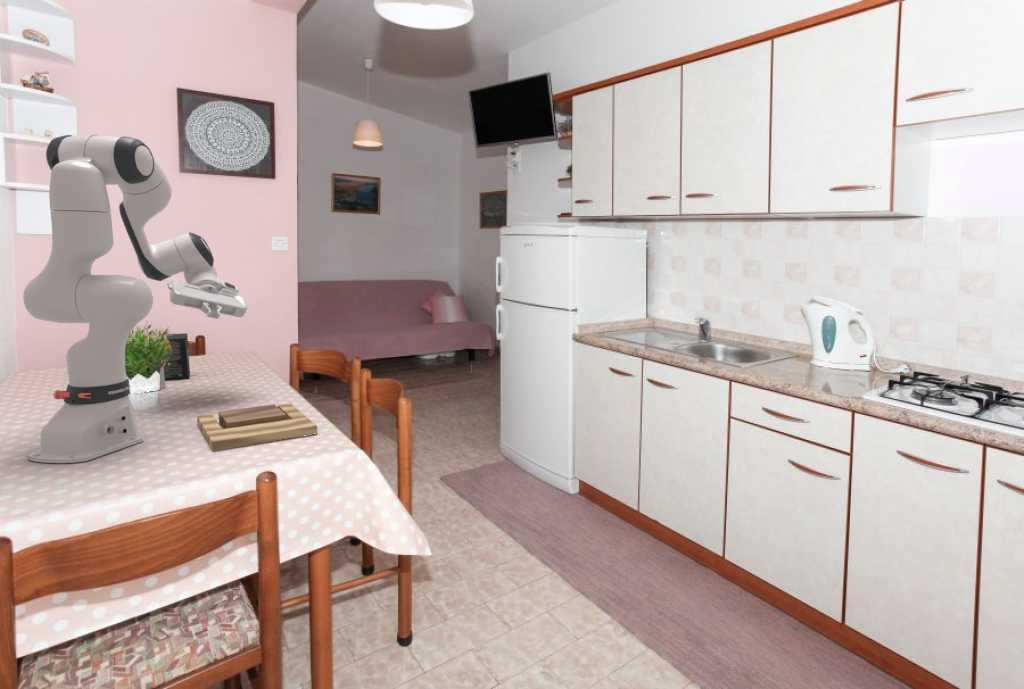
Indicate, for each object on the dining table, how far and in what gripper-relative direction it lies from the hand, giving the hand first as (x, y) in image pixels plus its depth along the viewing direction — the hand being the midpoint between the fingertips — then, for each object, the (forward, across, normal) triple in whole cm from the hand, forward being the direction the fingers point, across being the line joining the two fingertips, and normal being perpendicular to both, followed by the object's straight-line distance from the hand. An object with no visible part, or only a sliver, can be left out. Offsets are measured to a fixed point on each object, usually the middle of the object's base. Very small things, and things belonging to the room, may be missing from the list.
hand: (213, 316), depth 170 cm
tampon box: (-31, +9, +47) cm, 57 cm away
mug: (-18, -3, +43) cm, 47 cm away
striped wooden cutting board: (+37, +7, +8) cm, 38 cm away
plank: (+27, +8, +12) cm, 30 cm away
